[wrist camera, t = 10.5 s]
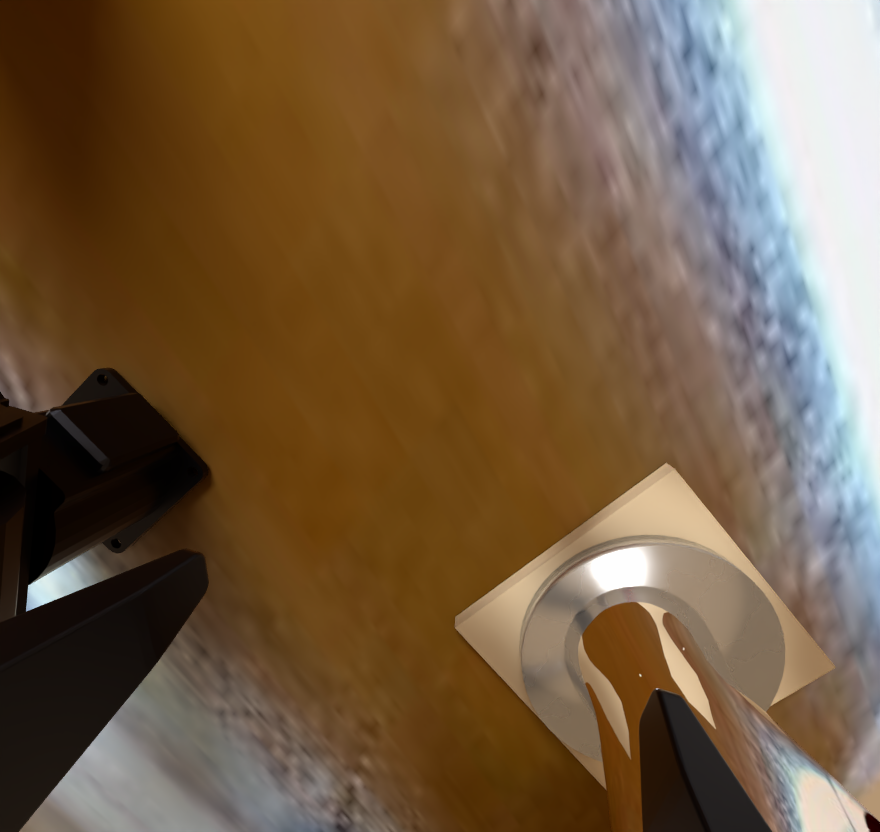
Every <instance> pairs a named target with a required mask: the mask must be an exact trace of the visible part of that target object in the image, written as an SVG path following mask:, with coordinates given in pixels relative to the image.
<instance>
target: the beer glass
mask: <svg viewBox="0 0 880 832" xmlns="http://www.w3.org/2000/svg"><path fill="white" fill-rule="evenodd" d="M563 655H564V662H565V666H566V670H567V672H568V675H569V678H570V680H571V682H572V684H573V686H574V688H575V690H576V692H577V694H578V695H579V697H580V699H581V701H582V703H583V705H584V707H585V708H586V710H587V712H588V714H589V717H590V719H591V721H592V724H593V727H594V729H595V732H596V735H597V739H598V743H599V747H600V751H601V756H602V762H603V769H604V776H605V783H606V790H607V799H608V808H609V817H610V825H611V832H643V825H642V800H641V774H640V747H639V723H640V718H641V715H642V713H643V711H644V709H645V706H646V704H647V702H648V700H649V697H650V695H651V693H652V691H653V690H654V689H656V688H659V689H663V690H666V691H669V692H673V693H676V694H678V695H680V696H681V697H682V698H683V699H684V700H685V701H686V703H687V704H688V706H689V707H690V709H691V710H692V712H693V713H694V715H695V716H696V718H697V719H698V721H699V722H700V724H701V725H702V727H703V728H704V730H705V731H706V733H707V734H708V736H709V737H710V739H711V740H712V742H713V743H714V745H715V746H716V748H717V749H718V751H719V752H720V754H721V755H722V757H723V758H724V760H725V761H726V763H727V764H728V766H729V767H730V769H731V770H732V772H733V773H734V775H735V776H736V778H737V779H738V781H739V782H740V784H741V785H742V787H743V788H744V790H745V791H746V793H747V794H748V796H749V797H750V799H751V800H752V802H753V803H754V805H755V806H756V808H757V809H758V811H759V812H760V814H761V815H762V817H763V818H764V820H765V821H766V823H767V824H768V826H769V827H770V829H771V830H772V832H880V822H879V821H878V820H877V819H876V818H875V817H874V816H873V815H872V814H871V813H870V812H869V811H868V810H867V809H866V808H865V807H864V806H863V805H862V804H861V803H860V802H859V801H858V800H857V799H856V798H855V797H854V796H853V795H852V794H850V793H849V792H848V791H847V790H846V789H845V788H844V787H843V786H842V785H841V784H840V783H839V782H838V781H837V780H836V779H835V778H834V777H833V776H832V775H831V774H830V773H829V772H828V771H827V770H826V769H824V768H823V767H822V766H821V765H820V764H819V763H818V762H817V761H816V760H815V759H814V758H813V757H812V756H811V755H810V754H809V753H808V752H806V751H805V750H804V749H803V748H802V747H801V746H800V745H799V744H798V743H797V742H796V741H795V740H794V739H793V738H792V737H791V736H790V735H788V734H787V733H786V732H785V731H784V730H783V729H782V728H781V727H780V726H779V725H778V724H777V723H776V722H775V721H774V720H773V719H772V718H771V717H770V716H769V715H768V714H767V713H766V712H765V711H764V710H763V709H762V708H761V707H760V706H759V705H758V704H757V703H756V702H755V701H754V700H753V698H752V697H751V696H750V695H749V694H748V693H747V691H746V690H745V689H744V688H743V687H742V685H741V684H740V683H739V681H738V680H737V679H736V677H735V676H734V674H733V673H732V671H731V670H730V668H729V666H728V664H727V663H726V661H725V659H724V657H723V655H722V653H721V651H720V649H719V646H718V644H717V642H716V640H715V638H714V636H713V634H712V632H711V630H710V628H709V627H708V625H707V623H706V622H705V620H704V619H703V617H702V616H701V615H700V613H699V612H698V611H697V610H696V609H695V608H694V607H693V606H692V605H691V604H690V603H688V602H687V601H686V600H684V599H683V598H681V597H680V596H678V595H676V594H674V593H672V592H670V591H667V590H664V589H661V588H657V587H652V586H641V585H636V586H625V587H620V588H616V589H612V590H610V591H607V592H605V593H602V594H600V595H598V596H597V597H595V598H593V599H592V600H590V601H589V602H588V603H587V604H585V605H584V606H583V607H582V608H581V609H580V610H579V611H578V613H577V614H576V615H575V616H574V618H573V619H572V621H571V623H570V625H569V627H568V629H567V631H566V635H565V639H564V647H563Z"/></svg>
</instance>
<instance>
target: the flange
mask: <svg viewBox="0 0 880 832" xmlns="http://www.w3.org/2000/svg"><path fill="white" fill-rule="evenodd" d="M636 585H641V586H652V587H657V588H661V589H664V590H667V591H670V592H672V593H674V594H676V595H678V596H680V597H681V598H683V599H684V600H686V601H687V602H688V603H690V604H691V605H692V606H693V607H694V608H695V609H696V610H697V611H698V612H699V613H700V615H701V616H702V617H703V619H704V620H705V622H706V623H707V625H708V627H709V628H710V630H711V632H712V634H713V636H714V638H715V640H716V642H717V644H718V646H719V649H720V651H721V653H722V655H723V657H724V659H725V661H726V663H727V664H728V666H729V668H730V670H731V671H732V673H733V674H734V676H735V677H736V679H737V680H738V681H739V683H740V684H741V685H742V687H743V688H744V689H745V690H746V691H747V693H748V694H749V695H750V696H751V697H752V698H753V700H754V701H755V702H756V703H757V704H758V705H759V706H760V707H761V708H762V709H763V710H764V711H765V712H766V711H767V710H768V708H769V707H770V706H771V704H772V702H773V700H774V698H775V696H776V694H777V692H778V689H779V686H780V683H781V680H782V677H783V671H784V666H785V642H784V634H783V630H782V627H781V624H780V621H779V618H778V616H777V614H776V612H775V610H774V608H773V606H772V604H771V602H770V601H769V600H768V598H767V597H766V595H765V594H764V592H763V591H762V590H761V589H760V588H759V587H758V586H757V585H756V584H755V583H754V582H753V581H752V580H751V579H750V578H749V577H748V576H747V575H746V574H745V573H743V572H742V571H741V570H740V569H739V568H738V567H737V566H735V565H734V564H733V563H731V562H730V561H729V560H728V559H726V558H725V557H724V556H722V555H720V554H718V553H717V552H715V551H713V550H712V549H710V548H707V547H705V546H703V545H700V544H698V543H696V542H692V541H688V540H685V539H681V538H677V537H670V536H664V535H636V536H627V537H622V538H617V539H612V540H609V541H606V542H603V543H600V544H597V545H594V546H592V547H590V548H588V549H585V550H583V551H581V552H579V553H578V554H576V555H575V556H573V557H571V558H570V559H568V560H567V561H565V562H564V563H563V564H562V565H560V566H559V567H558V568H557V569H555V570H554V571H553V572H552V573H551V574H550V575H549V576H548V577H547V579H546V580H545V581H544V582H543V583H542V584H541V586H540V587H539V588H538V590H537V591H536V593H535V594H534V596H533V598H532V600H531V601H530V603H529V605H528V607H527V610H526V613H525V615H524V618H523V621H522V626H521V631H520V641H519V652H520V661H521V668H522V674H523V680H524V684H525V687H526V691H527V694H528V696H529V699H530V701H531V704H532V706H533V707H534V709H535V711H536V712H537V714H538V716H539V717H540V719H541V720H542V721H543V722H544V724H545V725H546V726H547V727H548V729H549V730H550V731H552V732H553V733H554V734H555V735H556V736H557V737H558V738H559V739H560V740H562V741H563V742H564V743H566V744H567V745H568V746H570V747H571V748H573V749H575V750H576V751H578V752H580V753H582V754H584V755H585V756H588V757H590V758H593V759H595V760H598V761H600V762H602V756H601V751H600V747H599V743H598V739H597V735H596V732H595V729H594V727H593V724H592V721H591V719H590V717H589V714H588V712H587V710H586V708H585V707H584V705H583V703H582V701H581V699H580V697H579V695H578V694H577V692H576V690H575V688H574V686H573V684H572V682H571V680H570V678H569V675H568V672H567V670H566V666H565V662H564V655H563V647H564V639H565V635H566V631H567V629H568V627H569V625H570V623H571V621H572V619H573V618H574V616H575V615H576V614H577V613H578V611H579V610H580V609H581V608H582V607H583V606H584V605H585V604H587V603H588V602H589V601H590V600H592V599H593V598H595V597H597V596H598V595H600V594H602V593H605V592H607V591H610V590H612V589H616V588H620V587H625V586H636Z"/></svg>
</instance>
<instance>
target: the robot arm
mask: <svg viewBox="0 0 880 832" xmlns="http://www.w3.org/2000/svg"><path fill="white" fill-rule="evenodd" d="M105 376H107V378H108V383H106V381H105V379H104V377H105ZM192 467H194V468H196V469H197V471H198V475H196V474H195V473H194V472H193V470H192ZM207 475H208V467H207V465H206V464H205V462H204V461H203V460H202V459H201V458H200V457H199V456H198V455H197V454H196V453H195V452H194V451H193V450H192V449H191V448H190V447H189V446H188V445H187V444H186V443H185V442H184V441H183V440H182V439H181V438H180V436H179V435H178V433H177V432H176V431H175V430H174V429H173V428H172V427H171V426H170V425H169V423H168V422H167V421H166V420H165V419H164V418H163V417H162V416H161V415H160V414H159V413H158V412H157V411H156V410H155V409H154V408H153V407H152V406H151V405H150V404H149V403H148V402H147V401H146V400H145V399H144V398H143V397H142V396H141V395H140V394H139V393H137V392H136V391H135V390H134V389H133V388H132V387H131V386H130V385H129V384H128V383H127V382H126V381H125V380H124V378H123V377H122V376H121V375H120V374H119V373H118V372H117V371H115V370H114V369H112V368H102V369H97V370H95V371H94V372H93V373H92V374H91V375H90V376H89V377H88V378H87V379H86V380H85V381H84V382H83V384H82V385H81V386H80V387H79V388H78V389H77V390H76V391H75V392H74V393H73V394H72V395H71V396H70V397H69V398H68V399H67V400H66V401H65V403H64V404H63V405H62V406H58V407H53V408H51V409H50V410H46V411H40V412H35V413H32V412H29V411H26V410H22V409H19V408H15V407H12V406H9V399H6V398H4V396H3V395H2V394H1V392H0V832H19V831H20V830H21V828H22V827H23V826H24V825H25V823H26V822H27V821H28V820H29V819H30V817H31V816H32V815H33V814H34V812H35V811H36V810H37V809H38V808H39V806H40V805H41V804H42V803H43V801H44V800H45V799H46V798H47V797H48V795H49V794H50V793H51V792H52V790H53V789H54V788H55V787H56V786H57V784H58V783H59V782H60V781H61V780H62V778H63V777H64V776H65V775H66V773H67V772H68V771H69V770H70V769H71V767H72V766H73V765H74V764H75V762H76V761H77V760H78V759H79V758H80V756H81V755H82V754H83V753H84V751H85V750H86V749H87V748H88V747H89V745H90V744H91V743H92V742H93V741H94V739H95V738H96V737H97V736H98V734H99V733H100V732H101V731H102V730H103V728H104V727H105V726H106V725H107V723H108V722H109V721H110V720H111V719H112V717H113V716H114V715H115V714H116V712H117V711H118V710H119V709H120V708H121V706H122V705H123V704H124V703H125V702H126V700H127V699H128V698H129V697H130V695H131V694H132V693H133V692H134V691H135V689H136V688H137V687H138V686H139V684H140V683H141V682H142V681H143V680H144V678H145V677H146V676H147V675H148V673H149V672H150V671H151V670H152V668H153V667H154V666H155V665H156V663H157V662H158V661H159V659H160V658H161V656H162V655H163V654H164V652H165V651H166V650H167V648H168V647H169V645H170V644H171V642H172V641H173V639H174V638H175V637H176V635H177V634H178V632H179V631H180V629H181V628H182V626H183V625H184V623H185V622H186V621H187V619H188V618H189V616H190V615H191V613H192V612H193V610H194V609H195V607H196V606H197V605H198V603H199V602H200V600H201V599H202V597H203V596H204V594H205V593H206V590H207V588H208V583H209V580H208V574H207V567H206V561H205V557H204V555H203V554H202V553H200V552H197V551H193V550H190V549H182V550H179V551H176V552H174V553H171V554H169V555H166V556H164V557H161V558H159V559H156V560H154V561H151V562H149V563H146V564H144V565H141V566H139V567H136V568H134V569H131V570H129V571H126V572H124V573H121V574H119V575H116V576H114V577H111V578H109V579H107V580H104V581H102V582H99V583H97V584H94V585H92V586H89V587H87V588H84V589H82V590H79V591H77V592H74V593H72V594H69V595H67V596H64V597H62V598H59V599H57V600H54V601H52V602H49V603H47V604H44V605H42V606H39V607H37V608H34V609H32V610H29V611H27V612H26V603H27V592H28V585H30V584H32V583H33V582H35V581H37V580H38V579H40V578H42V577H44V576H45V575H47V574H49V573H50V572H52V571H54V570H56V569H57V568H59V567H61V566H62V565H64V564H66V563H68V562H69V561H71V560H73V559H74V558H76V557H78V556H80V555H81V554H83V553H85V552H86V551H88V550H90V549H92V548H93V547H95V546H97V545H98V544H100V543H103V544H104V545H105V546H106V547H107V548H108V549H109V550H111V551H112V552H115V553H121V552H123V551H125V550H126V549H128V548H129V547H131V546H132V545H133V544H134V543H135V542H136V541H137V540H138V539H139V538H140V537H141V536H143V535H144V534H145V533H146V532H147V531H148V530H149V529H150V528H151V527H152V526H153V525H154V524H156V523H157V522H158V521H159V520H160V519H161V518H162V517H163V516H164V515H165V514H166V513H167V512H169V511H170V510H171V509H172V508H173V507H174V506H175V505H176V504H177V503H178V502H179V501H181V500H182V499H183V498H184V497H185V496H186V495H187V494H188V493H189V492H190V491H191V490H192V489H194V488H195V487H196V486H197V485H198V484H199V483H200V482H201V481H202V480H203V479H204V478H205V477H206V476H207ZM118 540H120V542H121V543H119V542H118ZM639 747H640V774H641V800H642V825H643V832H772V830H771V829H770V827H769V826H768V824H767V823H766V821H765V820H764V818H763V817H762V815H761V814H760V812H759V811H758V809H757V808H756V806H755V805H754V803H753V802H752V800H751V799H750V797H749V796H748V794H747V793H746V791H745V790H744V788H743V787H742V785H741V784H740V782H739V781H738V779H737V778H736V776H735V775H734V773H733V772H732V770H731V769H730V767H729V766H728V764H727V763H726V761H725V760H724V758H723V757H722V755H721V754H720V752H719V751H718V749H717V748H716V746H715V745H714V743H713V742H712V740H711V739H710V737H709V736H708V734H707V733H706V731H705V730H704V728H703V727H702V725H701V724H700V722H699V721H698V719H697V718H696V716H695V715H694V713H693V712H692V710H691V709H690V707H689V706H688V704H687V703H686V701H685V700H684V699H683V698H682V697H681V696H680V695H678V694H676V693H673V692H669V691H666V690H663V689H659V688H656V689H654V690H653V691H652V693H651V695H650V697H649V700H648V702H647V704H646V706H645V709H644V711H643V713H642V715H641V718H640V723H639Z"/></svg>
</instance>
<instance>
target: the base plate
mask: <svg viewBox="0 0 880 832" xmlns="http://www.w3.org/2000/svg"><path fill="white" fill-rule="evenodd" d="M636 535H664V536H670V537H677V538H681V539H685V540H688V541H692V542H696V543H698V544H700V545H703V546H705V547H707V548H710V549H712V550H713V551H715V552H717V553H718V554H720V555H722V556H724V557H725V558H726V559H728V560H729V561H730V562H731V563H733V564H734V565H735V566H737V567H738V568H739V569H740V570H741V571H742V572H743V573H745V574H746V575H747V576H748V577H749V578H750V579H751V580H752V581H753V582H754V583H755V584H756V585H757V586H758V587H759V588H760V589H761V590H762V591H763V592H764V594H765V595H766V597H767V598H768V600H769V601H770V602H771V604H772V606H773V608H774V610H775V612H776V614H777V616H778V618H779V621H780V624H781V627H782V630H783V634H784V642H785V666H784V671H783V677H782V680H781V683H780V686H779V689H778V692H777V694H776V696H775V698H774V700H773V702H772V704H771V705H773V704H775V703H776V702H778V701H780V700H781V699H783V698H785V697H787V696H788V695H790V694H792V693H793V692H795V691H797V690H798V689H800V688H802V687H804V686H805V685H807V684H809V683H810V682H812V681H814V680H816V679H817V678H819V677H821V676H822V675H824V674H826V673H827V672H829V671H831V670H833V669H834V668H836V667H835V666H834V665H833V663H832V662H831V661H830V660H829V659H828V657H827V656H826V655H825V654H824V652H823V651H822V650H821V649H820V647H819V646H818V645H817V644H816V642H815V641H814V640H813V639H812V638H811V636H810V635H809V634H808V633H807V631H806V630H805V629H804V628H803V626H802V625H801V624H800V623H799V622H798V620H797V619H796V618H795V617H794V615H793V614H792V613H791V612H790V610H789V609H788V608H787V607H786V606H785V604H784V603H783V602H782V601H781V599H780V598H779V597H778V596H777V594H776V593H775V592H774V591H773V589H772V588H771V587H770V586H769V585H768V583H767V582H766V581H765V580H764V578H763V577H762V576H761V575H760V573H759V572H758V571H757V570H756V569H755V567H754V566H753V565H752V564H751V562H750V561H749V560H748V559H747V557H746V556H745V555H744V554H743V553H742V551H741V550H740V549H739V548H738V546H737V545H736V544H735V543H734V541H733V540H732V539H731V538H730V536H729V535H728V534H727V533H726V532H725V530H724V529H723V528H722V527H721V525H720V524H719V523H718V522H717V520H716V519H715V518H714V517H713V516H712V514H711V513H710V512H709V511H708V509H707V508H706V507H705V506H704V504H703V503H702V502H701V501H700V500H699V498H698V497H697V496H696V495H695V493H694V492H693V491H692V490H691V488H690V487H689V486H688V485H687V483H686V482H685V481H684V480H683V479H682V477H681V476H680V475H679V474H678V472H677V471H676V470H675V469H674V468H673V467H671V466H670V465H668V464H667V463H665V464H664V465H663V466H661V467H660V468H659V469H657V470H656V471H655V472H653V473H652V474H650V475H649V476H648V477H646V478H645V479H644V480H642V481H641V482H639V483H638V484H637V485H635V486H634V487H633V488H631V489H630V490H629V491H627V492H626V493H624V494H623V495H622V496H620V497H619V498H618V499H616V500H615V501H613V502H612V503H611V504H609V505H608V506H607V507H605V508H604V509H603V510H601V511H600V512H598V513H597V514H596V515H594V516H593V517H592V518H590V519H589V520H587V521H586V522H585V523H583V524H582V525H581V526H579V527H578V528H576V529H575V530H574V531H572V532H571V533H570V534H568V535H567V536H566V537H564V538H563V539H561V540H560V541H559V542H557V543H556V544H555V545H553V546H552V547H550V548H549V549H548V550H546V551H545V552H544V553H542V554H541V555H540V556H538V557H537V558H535V559H534V560H533V561H531V562H530V563H529V564H527V565H526V566H524V567H523V568H522V569H520V570H519V571H518V572H516V573H515V574H514V575H512V576H511V577H509V578H508V579H507V580H505V581H504V582H503V583H501V584H500V585H498V586H497V587H496V588H494V589H493V590H492V591H490V592H489V593H487V594H486V595H485V596H483V597H482V598H481V599H479V600H478V601H477V602H475V603H474V604H472V605H471V606H470V607H468V608H467V609H466V610H464V611H463V612H461V613H460V614H459V615H457V616H456V617H455V629H456V630H457V631H458V632H459V633H460V634H461V635H462V636H463V637H464V638H465V639H466V640H467V641H468V643H469V644H470V645H471V646H472V647H473V648H474V649H475V650H476V651H477V652H478V653H479V654H480V655H481V656H482V658H483V659H484V660H485V661H486V662H487V663H488V664H489V665H490V666H491V667H492V668H493V669H494V670H495V671H496V673H497V674H498V675H499V676H500V677H501V678H502V679H503V680H504V681H505V682H506V683H507V684H508V685H509V686H510V688H511V689H512V690H513V691H514V692H515V693H516V694H517V695H518V696H519V697H520V698H521V699H522V700H523V701H524V703H525V704H526V705H527V706H528V707H529V708H530V709H531V710H532V711H533V712H534V713H535V714H536V715H537V716H538V714H537V712H536V711H535V709H534V707H533V706H532V704H531V701H530V699H529V696H528V694H527V691H526V687H525V684H524V680H523V674H522V668H521V661H520V652H519V641H520V631H521V626H522V621H523V618H524V615H525V613H526V610H527V607H528V605H529V603H530V601H531V600H532V598H533V596H534V594H535V593H536V591H537V590H538V588H539V587H540V586H541V584H542V583H543V582H544V581H545V580H546V579H547V577H548V576H549V575H550V574H551V573H552V572H553V571H554V570H555V569H557V568H558V567H559V566H560V565H562V564H563V563H564V562H565V561H567V560H568V559H570V558H571V557H573V556H575V555H576V554H578V553H579V552H581V551H583V550H585V549H588V548H590V547H592V546H594V545H597V544H600V543H603V542H606V541H609V540H612V539H617V538H622V537H627V536H636ZM538 718H539V719H540V717H539V716H538ZM540 720H541V719H540ZM541 721H542V720H541ZM542 722H543V721H542ZM543 723H544V722H543ZM552 733H553V732H552ZM553 734H554V733H553ZM554 735H555V734H554ZM555 736H556V735H555ZM556 737H557V736H556ZM557 738H558V737H557ZM558 739H559V738H558ZM559 740H560V739H559ZM560 741H561V742H562V743H563V744H564V745H565V746H566V748H567V749H568V750H569V751H570V752H571V753H572V754H573V755H574V756H575V757H576V758H577V759H578V760H579V761H580V763H581V764H582V765H583V766H584V767H585V768H586V769H587V770H588V771H589V772H590V773H591V774H592V775H593V776H594V778H595V779H596V780H597V781H598V782H599V783H600V784H601V785H602V786H603V787H604V788H605V789H606V783H605V776H604V769H603V762H600V761H598V760H595V759H593V758H590V757H588V756H585V755H584V754H582V753H580V752H578V751H576V750H575V749H573V748H571V747H570V746H568V745H567V744H566V743H564V742H563V741H562V740H560Z"/></svg>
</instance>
